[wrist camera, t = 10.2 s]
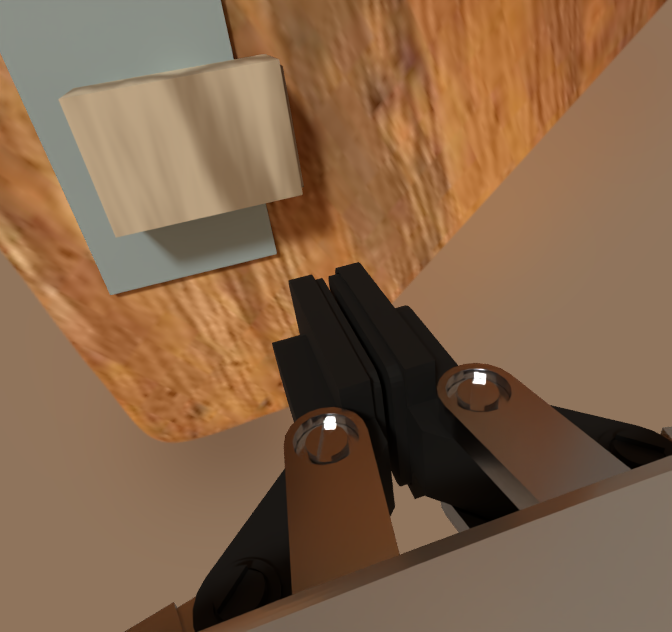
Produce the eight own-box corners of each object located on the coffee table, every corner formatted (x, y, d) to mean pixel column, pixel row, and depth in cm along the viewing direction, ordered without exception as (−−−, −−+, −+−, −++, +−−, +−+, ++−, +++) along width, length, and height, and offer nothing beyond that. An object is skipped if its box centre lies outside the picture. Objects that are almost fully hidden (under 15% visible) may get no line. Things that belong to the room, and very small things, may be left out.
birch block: (282, 58, 28) (58, 99, 26) (305, 194, 32) (115, 237, 30) (267, 53, 32) (73, 88, 30) (290, 174, 36) (122, 211, 34)
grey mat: (207, -55, 29) (208, -57, 28) (275, 251, 40) (276, 253, 39) (-31, -23, 27) (-34, -23, 26) (111, 291, 38) (110, 295, 37)
